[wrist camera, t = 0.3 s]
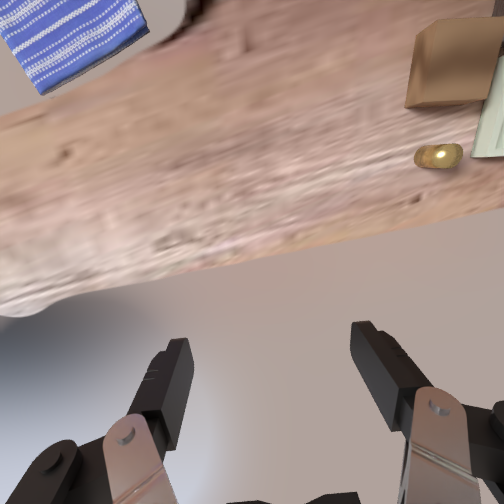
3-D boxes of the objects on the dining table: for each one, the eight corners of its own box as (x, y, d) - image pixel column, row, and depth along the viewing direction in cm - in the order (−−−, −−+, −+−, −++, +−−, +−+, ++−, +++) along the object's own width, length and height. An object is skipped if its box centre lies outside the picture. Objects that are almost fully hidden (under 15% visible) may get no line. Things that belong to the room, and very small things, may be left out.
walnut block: (414, 36, 31) (437, 19, 27) (476, 33, 31) (508, 16, 27) (403, 108, 34) (422, 101, 30) (460, 105, 34) (486, 98, 30)
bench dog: (416, 146, 35) (442, 144, 30) (436, 144, 35) (465, 142, 30) (412, 167, 36) (437, 169, 32) (432, 166, 36) (459, 167, 32)
